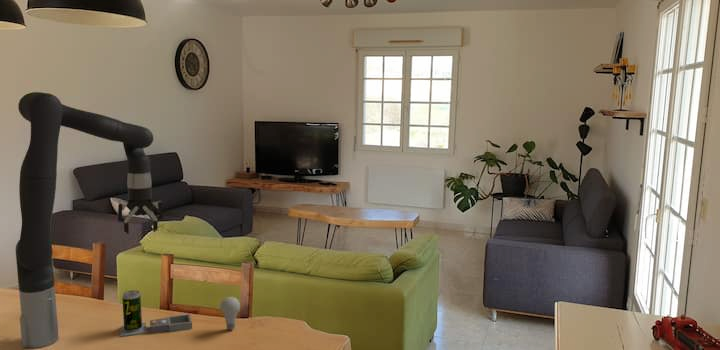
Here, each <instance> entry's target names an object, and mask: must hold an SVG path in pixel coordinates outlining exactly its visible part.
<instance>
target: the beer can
mask: <svg viewBox="0 0 720 350" xmlns="http://www.w3.org/2000/svg"><path fill="white" fill-rule="evenodd" d="M141 300H142V298H141V293H140V291H139V290H135V289H133V290H127V291H124V292H123V293H122V300H121V301H122V314H123V326H124V329H125V331H127V332H135V331H138V330H140V329H141V327H142V323H143V320H142V319H143V318H142V317H143V316H142V315H143V314H142V301H141Z"/></svg>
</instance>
